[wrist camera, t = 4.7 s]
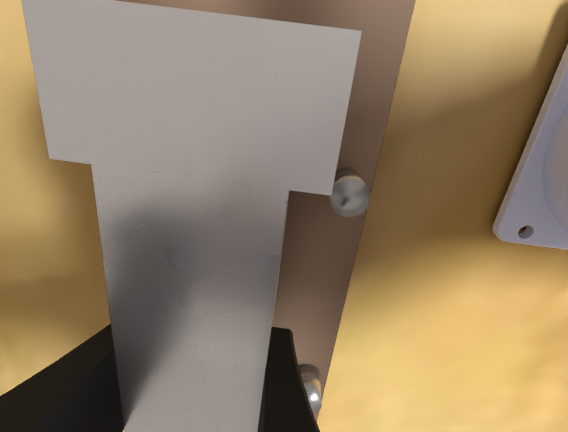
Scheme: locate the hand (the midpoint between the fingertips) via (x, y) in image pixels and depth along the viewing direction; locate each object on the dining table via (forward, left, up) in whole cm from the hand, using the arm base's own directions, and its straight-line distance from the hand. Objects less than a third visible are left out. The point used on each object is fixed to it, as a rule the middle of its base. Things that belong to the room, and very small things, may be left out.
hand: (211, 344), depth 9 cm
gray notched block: (0, 0, -2) cm, 2 cm away
